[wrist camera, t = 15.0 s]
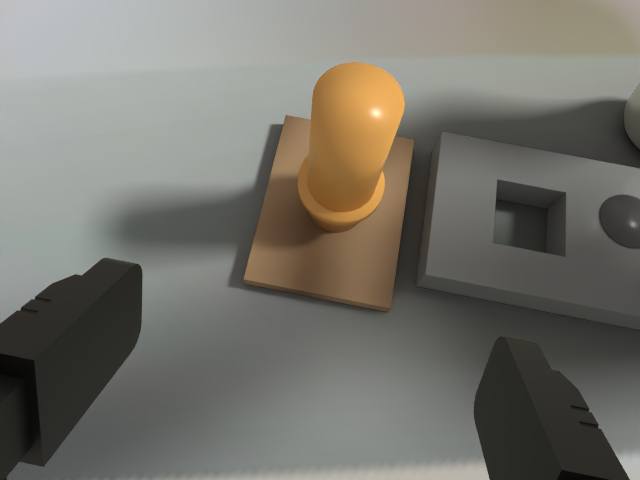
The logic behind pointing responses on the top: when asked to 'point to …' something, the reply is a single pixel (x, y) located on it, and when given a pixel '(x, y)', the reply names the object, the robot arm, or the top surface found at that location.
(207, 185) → the top surface
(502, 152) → the grey socket board
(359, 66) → the plug
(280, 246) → the board
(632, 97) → the plastic bottle
